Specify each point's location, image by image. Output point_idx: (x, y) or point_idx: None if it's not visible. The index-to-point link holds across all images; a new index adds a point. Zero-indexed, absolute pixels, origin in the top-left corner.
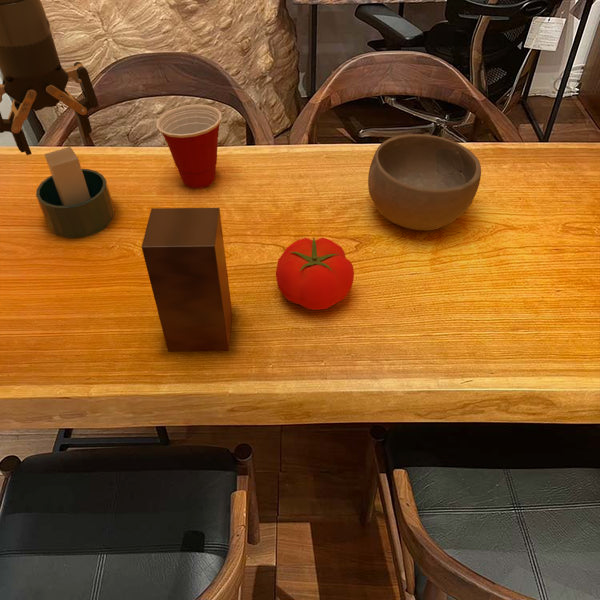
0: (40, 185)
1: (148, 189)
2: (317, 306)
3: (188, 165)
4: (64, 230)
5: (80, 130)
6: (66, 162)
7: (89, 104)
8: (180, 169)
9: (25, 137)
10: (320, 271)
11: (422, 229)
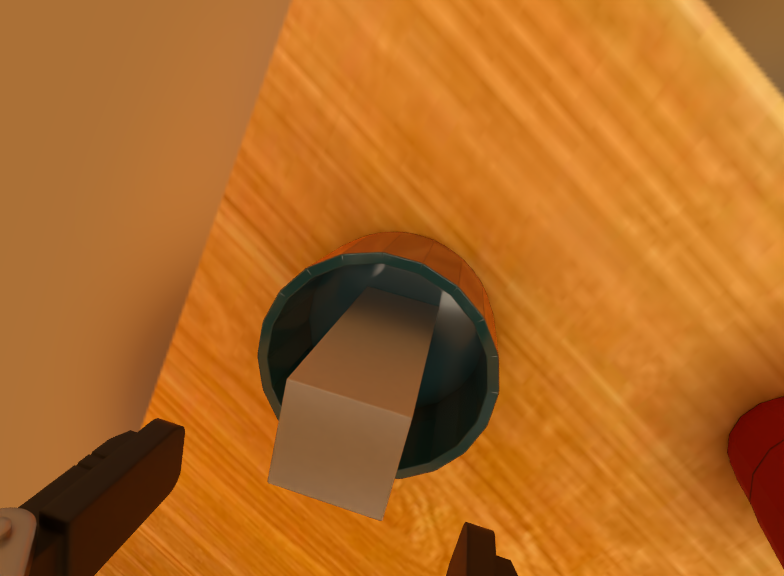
0: (298, 281)
1: (631, 361)
2: None
3: (776, 555)
4: None
5: (464, 540)
6: (330, 501)
7: None
8: (755, 489)
9: (100, 566)
10: None
11: None
